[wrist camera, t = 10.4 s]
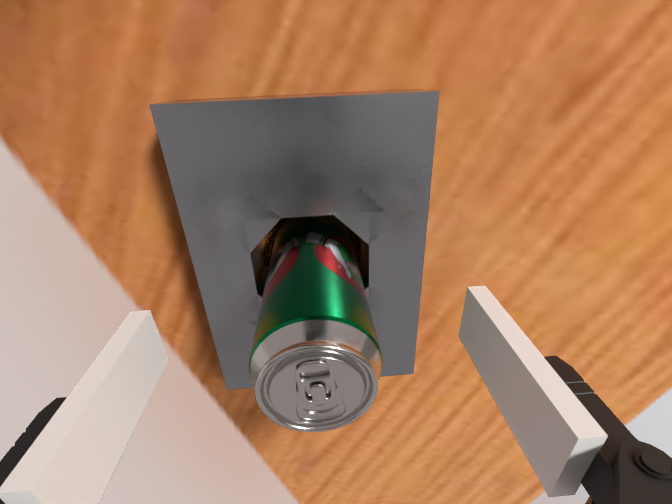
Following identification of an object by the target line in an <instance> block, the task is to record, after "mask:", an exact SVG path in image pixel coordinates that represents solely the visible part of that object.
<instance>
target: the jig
mask: <svg viewBox="0 0 672 504" xmlns="http://www.w3.org/2000/svg"><path fill="white" fill-rule="evenodd" d="M438 100H439V91H434V90H421V89H410V90H389V91H368V92H346V93H325V94H303V95H282V96H261V97H239V98H218V99H197V100H177V101H170V102H164V103H157V104H150V108H151V112H152V116H153V119H154V123H155V127H156V130H157V134H158V138H159V141H160V145H161V149H162V152H163V156H164V160H165V163H166V167H167V171H168V175H169V178H170V182H171V186H172V189H173V193H174V197H175V200H176V204H177V208H178V211H179V215H180V219H181V222H182V226H183V230H184V234H185V237H186V241H187V245H188V248H189V252H190V256H191V259H192V263H193V267H194V270H195V274H196V278H197V281H198V285H199V289H200V293H201V296H202V300H203V304H204V307H205V311H206V315H207V318H208V322H209V326H210V329H211V333H212V337H213V340H214V344H215V348H216V352H217V355H218V359H219V363H220V366H221V370H222V374H223V377H224V381H225V385H226V388H227V390H232V389H244V388H255V387H254V386H253V384H252V381H251V379H250V375H249V359H250V354H251V349H252V344H253V340H254V335H255V330H256V326H257V321H258V316H259V311H260V307H261V302H262V297H263V292H264V288H265V283H266V278H267V274H268V269H269V268H268V267H266V266H265V265H264V259H263V253H262V247H261V240H262V239H263V238H264V237H265V236H266V235H267V234H268V233H269V231H270V230H271V229H272V228H273V227H274V226H275V225H276V224H277V222H278V221H279V220H280V219H281V218H290V217H306V216H321V215H334V216H335V217H336V218H338V219H339V220H340V221H341V222H342V223H344V224H345V225H346V226H347V227H348V228H350V229H351V230H352V231H353V232H354V233H355V234H357V235H358V236H359V237H360V238H361V259H360V260H359V261H358V262H357V263H358V267H359V271H360V274H361V278H362V282H363V286H364V289H365V293H366V297H367V300H368V304H369V308H370V312H371V315H372V319H373V323H374V327H375V330H376V334H377V338H378V341H379V345H380V349H381V353H382V358H383V365H382V371H381V375H380V377H382V376H393V375H405V374H413V372H414V361H415V350H416V339H417V329H418V318H419V307H420V296H421V285H422V274H423V263H424V253H425V242H426V231H427V220H428V209H429V198H430V187H431V176H432V166H433V155H434V144H435V133H436V122H437V111H438Z"/></svg>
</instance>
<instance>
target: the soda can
mask: <svg viewBox="0 0 672 504" xmlns="http://www.w3.org/2000/svg"><path fill="white" fill-rule="evenodd" d="M382 365H383V358H382V353H381V349H380V345H379V341H378V338H377V334H376V330H375V327H374V323H373V319H372V315H371V312H370V308H369V304H368V300H367V297H366V293H365V289H364V286H363V282H362V278H361V274H360V271H359V267H358V263H357V260H356V256H355V252H354V248H353V245H352V241H351V237H350V235H349V232H348V231H347V229H346V227H345V226H344V225H343V224H342V223H341V222H340V221H339V220H338V219H336V218H335V217H333V216H331V215H321V216H306V217H291V218H290V219H288V220H287V221H286V222H285V223H284V224H283V225H282V226H281V227H280V229H279V230H278V232H277V234H276V237H275V241H274V245H273V250H272V255H271V259H270V264H269V269H268V274H267V278H266V283H265V288H264V292H263V297H262V302H261V307H260V311H259V316H258V321H257V326H256V330H255V335H254V340H253V344H252V349H251V354H250V359H249V375H250V379H251V381H252V384H253V386H254V387H255V396H256V401H257V403H258V405H259V408H260V409H261V410H262V412H263V413H264V414H265V415H266V416H267V417H268V418H269V419H271V420H272V421H273V422H275V423H277V424H279V425H281V426H283V427H286V428H289V429H292V430H296V431H303V432H323V431H329V430H334V429H337V428H341V427H343V426H346V425H348V424H350V423H352V422H354V421H356V420H357V419H359V418H360V417H361V416H362V415H364V414H365V413H366V412H367V411H368V410H369V408H370V407H371V406H372V404H373V402H374V400H375V398H376V395H377V391H378V380H379V377H380V375H381V371H382Z"/></svg>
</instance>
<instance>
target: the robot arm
mask: <svg viewBox="0 0 672 504" xmlns="http://www.w3.org/2000/svg"><path fill="white" fill-rule="evenodd" d="M459 338H460V340H461V342H462V343H463V345H464V347H465V349H466V351H467V352H468V354H469V356H470V358H471V359H472V361H473V363H474V365H475V367H476V368H477V370H478V372H479V374H480V376H481V377H482V379H483V381H484V383H485V384H486V386H487V388H488V390H489V392H490V393H491V395H492V397H493V399H494V400H495V402H496V404H497V406H498V408H499V409H500V411H501V413H502V415H503V416H504V418H505V420H506V422H507V424H508V425H509V427H510V429H511V431H512V433H513V434H514V436H515V438H516V440H517V441H518V443H519V445H520V447H521V449H522V450H523V452H524V454H525V456H526V457H527V459H528V461H529V463H530V465H531V466H532V468H533V470H534V472H535V473H536V475H537V477H538V479H539V481H540V482H541V484H542V486H543V488H544V490H545V491H546V493H547V495H548V496H549V497H557V496H566V495H575V493H576V491H577V490H578V487H579V486H580V484H581V483H582V485H583V486H584V488H585V489H586V491H587V492H588V494H589V495H590V497H589V498H588V500H587V502H586V503H585V504H672V458H671V457H669V456H668V455H667V454H666V453H664V452H663V451H661V450H660V449H658V448H656V447H654V446H652V445H650V444H647V443H644V442H640V441H638V440H637V439H636V438H635V437H634V436H633V435H632V434H631V433H630V432H629V430H627V428H626V427H625V426H624V425H623V424H622V423H621V421H620V420H619V419H618V418H617V417H616V416H615V415H614V414H613V412H612V411H611V410H610V409H609V408H608V407H607V406H606V405H605V403H604V402H603V401H602V400H601V399H600V398H599V397H598V395H597V394H594V391H593V390H592V389H591V388H590V386H589V385H588V384H587V383H585V382H584V380H583V379H582V377H581V376H580V375H579V374H578V373H577V372H576V371H575V370H574V368H573V367H572V366H570V365H569V364H567V363H566V362H564V361H563V360H561V359H560V358H559V357H557V356H548V357H543V356H542V354H541V353H540V352H539V351H538V350H537V348H536V347H535V346H534V345H533V343H532V342H531V341H530V340H529V339H528V337H527V336H526V335H525V334H524V332H523V331H522V330H521V329H520V328H519V326H518V325H517V324H516V323H515V321H514V320H513V319H512V318H511V317H510V315H509V314H508V313H507V312H506V310H505V309H504V308H503V307H502V306H501V304H500V303H499V302H498V301H497V299H496V298H495V297H494V296H493V295H492V293H491V292H490V291H489V290H488V288H487V287H486V286H474V287H467V293H466V298H465V304H464V309H463V315H462V320H461V326H460V331H459ZM168 360H169V358H168V356H167V353H166V351H165V348H164V345H163V343H162V340H161V337H160V335H159V332H158V330H157V327H156V324H155V322H154V319H153V317H152V314H151V311H150V310H144V311H131V312H130V313H129V314H128V316H127V317H126V318H125V320H124V322H123V323H122V324H121V325H120V327H119V328H118V329H117V331H116V332H115V333H114V335H113V336H112V337H111V339H110V340H109V341H108V343H107V344H106V345H105V347H104V348H103V350H102V351H101V352H100V354H99V355H98V356H97V358H96V359H95V360H94V362H93V363H92V364H91V366H90V367H89V368H88V370H87V371H86V372H85V374H84V375H83V377H82V378H81V379H80V381H79V382H78V383H77V385H76V386H75V387H74V389H73V390H72V391H71V393H70V394H69V395H68V397H64V398H56V399H55V400H54V401H53V402H51V403H50V404H49V405H48V406H47V407H45V408H44V409H43V410H42V411H41V412H39V413H38V414H37V416H36V417H35V418H34V420H33V421H32V422H31V423H30V425H29V426H28V427H27V428H26V432H25V433H22V435H21V436H20V437H19V439H18V440H17V441H16V442H15V446H14V447H12V448H11V449H10V450H9V451H8V452H7V454H6V455H5V456H4V458H3V459H2V460H1V461H0V504H99V502H100V500H101V498H102V496H103V494H104V492H105V489H106V488H107V485H108V483H109V481H110V479H111V477H112V475H113V473H114V471H115V469H116V467H117V464H118V463H119V461H120V459H121V457H122V455H123V453H124V450H125V449H126V446H127V444H128V442H129V440H130V438H131V436H132V434H133V432H134V430H135V428H136V426H137V424H138V422H139V420H140V418H141V416H142V414H143V412H144V409H145V407H146V405H147V403H148V401H149V399H150V397H151V395H152V393H153V391H154V389H155V387H156V385H157V383H158V381H159V379H160V377H161V375H162V372H163V370H164V368H165V366H166V364H167V362H168Z"/></svg>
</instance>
